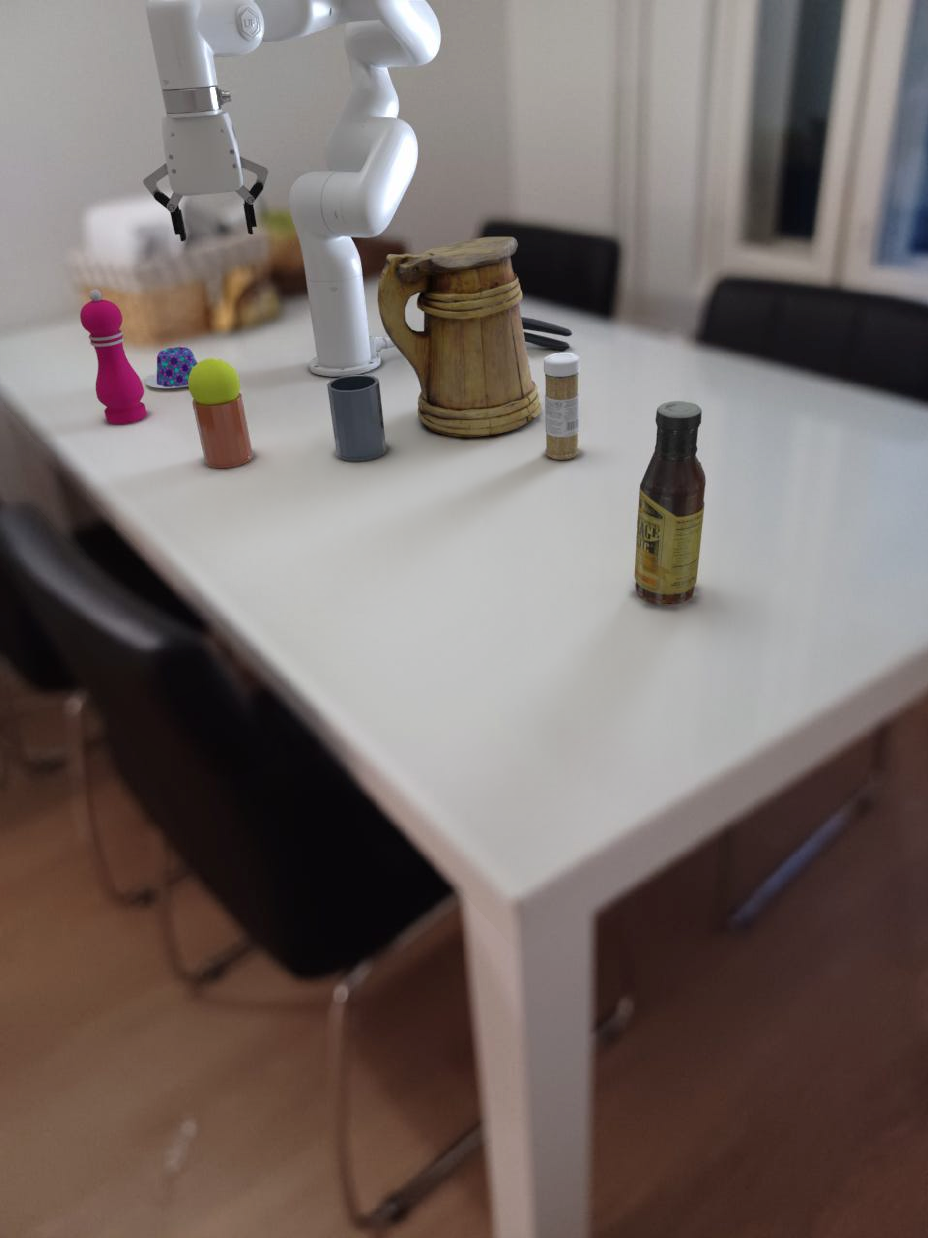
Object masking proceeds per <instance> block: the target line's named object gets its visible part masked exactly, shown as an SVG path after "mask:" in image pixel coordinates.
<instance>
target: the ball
mask: <svg viewBox="0 0 928 1238" xmlns="http://www.w3.org/2000/svg"><path fill="white" fill-rule="evenodd" d="M187 387H188V391H189V393H190V396H191V398H192V399H194V400H195V401H196V402H197V403H198V404H201V405H219V404H224V403H228V402H230V401H233V400H235V399H236V398H237V396H238V394H239V393H240V388H241V382H240V377H239V375H238V373H237V371H236V369H234V367H233V366H232V365H231V364H229V363H228V362H226V361H225V360H222V359H221V358H220V359H219V358H214V357H212V358H206V359H203V360H199V362H197V364H196V365H195V366H194V367H193V369H192V370H191V372H190V375H189V379H188V386H187Z"/></svg>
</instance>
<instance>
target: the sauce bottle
mask: <svg viewBox="0 0 928 1238" xmlns="http://www.w3.org/2000/svg"><path fill="white" fill-rule="evenodd" d="M702 413H703V411H702V408H701V407H700V406H699V405H698V404H696V403H695V402H689V401H684V400H673V401H667V402H664V403H662V404H660V405H659V406H658V407H657V409H656V415H655V424H656V438H655V446H654V451H653V454H652V456H651V458H650V460H649V462H648V465H647V467H646V470H645V472H644V475H643V477H642V479H641V482H640V484H639V490H638V491H639V492H638V507H637V508H638V509H637V522H636V523H637V524H636V537H635V539H636V541H635V543H636V544H635V560H634V575H633V576H634V580H635V585H634V586H635V591H636V593H637V594H638V595H639V597H641V598H642V599H643V600H646V601H647V602H648V603H651V604H653V605H668V606H669V605H678V604H682V603H684V602H687V601H688V600H690V599H691V598H692V597H693V594H694V592H695V586H696V584H697V579H698V571H699V562H700V554H701V553H700V552H701V542H702V533H703V523H704V513H705V492H706V485H707V484H706V483H707V480H706V478H707V477H706V474H705V470H704V468H703V466H702V463H701V461H700V460H699V459H698V457H697V452H698V445H697V444H698V435H699V427H700V426H701V424H702Z"/></svg>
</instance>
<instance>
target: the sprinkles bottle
mask: <svg viewBox="0 0 928 1238" xmlns="http://www.w3.org/2000/svg"><path fill="white" fill-rule="evenodd" d="M543 372H544V376H545V381H544V382H545V394H544V408H545V409H544V411H545V413H544V414H545V416H544V417H545V435H546V437H545V439H546V441H545V442H546V448H545V454H546V457H548V458H550V459H553V460H560V461H561V460H562V461H565V460H571V459H574V458H575V457H577V456H578V455H579V452H580V450H579V423H580V422H579V421H580V419H579V417H580V416H579V414H580V413H579V412H580V411H579V409H580V401H579V399H580V398H579V397H580V395H579V394H580V393H579V372H580V357H579V356H578V355H577V354H575V353H572V352H557V353H556V352H555V353H551V354H548V355H546V356H545V357H544V358H543Z"/></svg>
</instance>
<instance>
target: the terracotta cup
mask: <svg viewBox="0 0 928 1238" xmlns="http://www.w3.org/2000/svg"><path fill="white" fill-rule="evenodd" d="M191 403H192V409H193V412H194V417H195V422H196V426H197V432H198V435H199V440H200V445H201V449H202V453H203V458H204V462H205V465H206V466H208V467H210V468H213V469H232V468H237V467H240V466H243V465H245V464H247V463H249V462H250V461H251V460H252V459H253V457H254V455H253V449H252V444H251V443H252V442H251V438H250V432H249V426H248V421H247V415H246V411H245V405H244V399H243V396H242V393H241V392H239V394H238V396H237V398H236V399H235V400H233V401H230V402H228V403H224V404H219V405H201V404H198V403H197V402H196V401H195V400H194V398H192V402H191Z"/></svg>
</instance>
